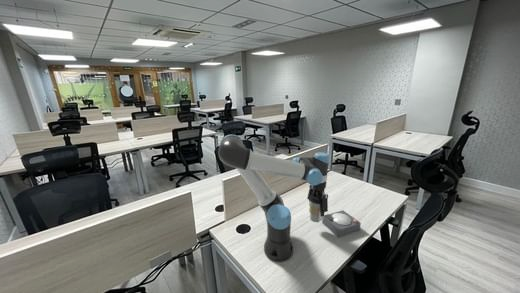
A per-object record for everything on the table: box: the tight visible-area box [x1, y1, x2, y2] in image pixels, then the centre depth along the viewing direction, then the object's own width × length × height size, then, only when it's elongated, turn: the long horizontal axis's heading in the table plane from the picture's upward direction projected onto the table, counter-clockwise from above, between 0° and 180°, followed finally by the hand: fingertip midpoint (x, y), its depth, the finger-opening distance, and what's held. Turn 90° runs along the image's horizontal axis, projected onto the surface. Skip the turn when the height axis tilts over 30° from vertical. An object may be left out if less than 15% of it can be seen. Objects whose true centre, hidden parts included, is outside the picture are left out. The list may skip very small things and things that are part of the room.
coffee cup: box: [308, 194, 323, 223], centre depth 117 cm, size 9×9×15 cm
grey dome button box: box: [321, 209, 362, 238], centre depth 122 cm, size 16×14×6 cm
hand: (315, 215), depth 119 cm, fingers closed on coffee cup, 8 cm apart
